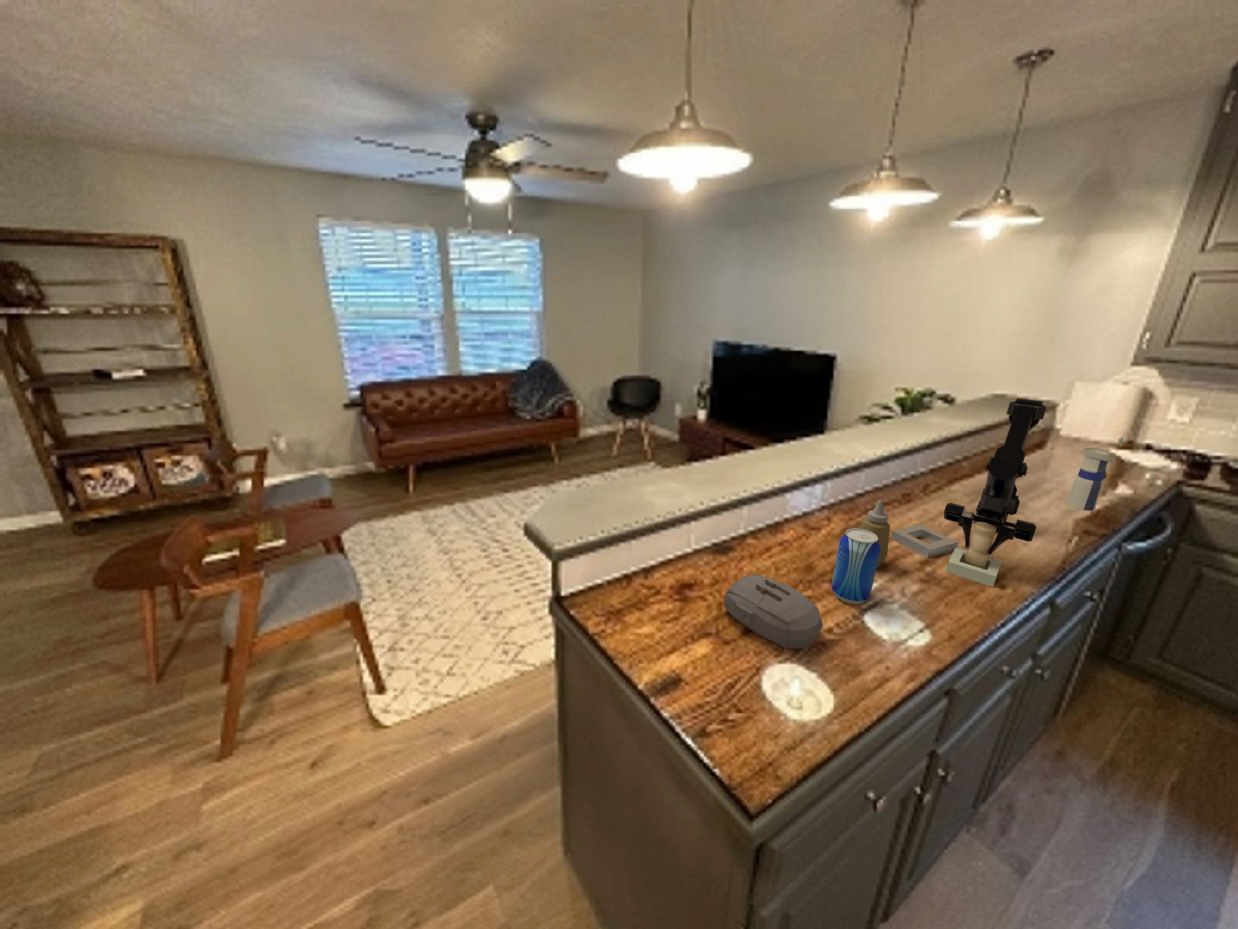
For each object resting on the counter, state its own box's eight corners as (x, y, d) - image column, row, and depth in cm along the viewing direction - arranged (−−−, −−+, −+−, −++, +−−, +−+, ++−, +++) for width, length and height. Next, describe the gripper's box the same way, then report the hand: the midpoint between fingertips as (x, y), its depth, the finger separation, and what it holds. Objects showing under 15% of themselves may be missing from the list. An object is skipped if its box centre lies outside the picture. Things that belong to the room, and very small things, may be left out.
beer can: (866, 610, 111) (880, 548, 105) (827, 598, 115) (838, 537, 110) (871, 592, 118) (884, 532, 112) (833, 581, 122) (844, 523, 116)
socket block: (919, 531, 147) (920, 524, 146) (956, 550, 137) (958, 542, 136) (890, 538, 143) (892, 530, 142) (927, 557, 133) (929, 549, 132)
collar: (953, 557, 133) (955, 547, 132) (998, 570, 127) (1001, 560, 126) (945, 571, 126) (948, 561, 125) (992, 587, 120) (996, 576, 119)
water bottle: (1083, 500, 170) (1108, 431, 162) (1103, 511, 162) (1131, 438, 154) (1057, 499, 171) (1081, 430, 162) (1076, 510, 163) (1102, 437, 154)
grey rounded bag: (714, 614, 109) (795, 665, 95) (717, 582, 106) (801, 629, 92) (755, 589, 118) (834, 633, 104) (759, 559, 116) (841, 599, 101)
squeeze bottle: (882, 558, 132) (896, 496, 126) (887, 573, 125) (901, 509, 119) (849, 553, 135) (861, 492, 129) (852, 568, 128) (865, 504, 122)
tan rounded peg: (963, 564, 130) (976, 520, 125) (983, 571, 127) (997, 526, 123) (960, 571, 127) (973, 526, 122) (981, 578, 124) (995, 532, 119)
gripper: (954, 473, 127) (935, 526, 124) (1047, 493, 116) (1029, 552, 112) (953, 493, 136) (935, 542, 132) (1039, 513, 124) (1022, 568, 120)
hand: (977, 550), depth 124 cm, fingers closed on tan rounded peg, 4 cm apart
